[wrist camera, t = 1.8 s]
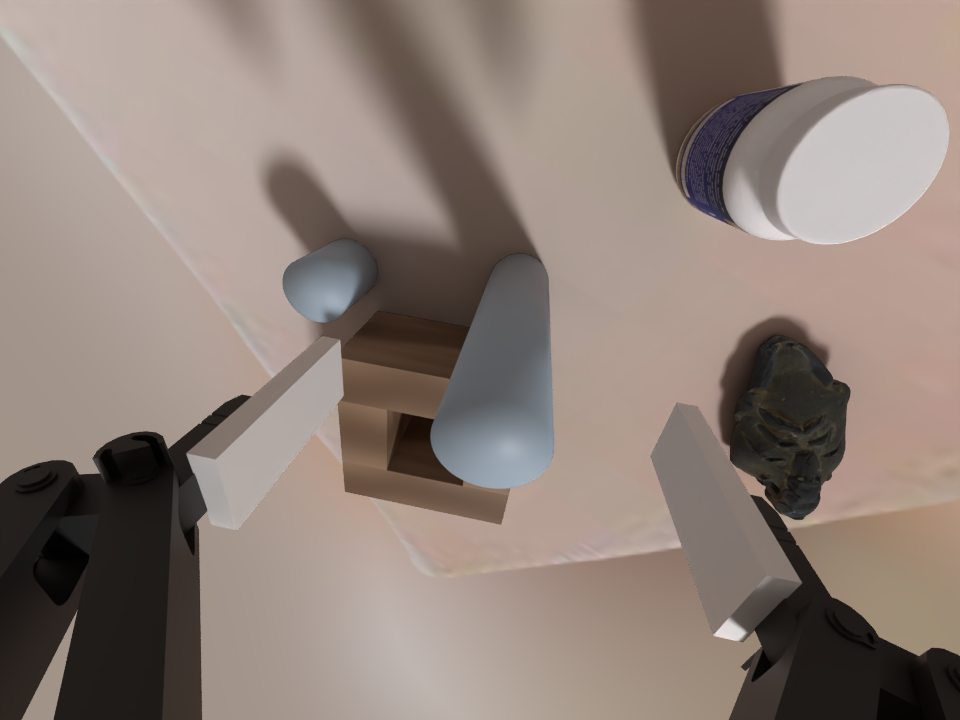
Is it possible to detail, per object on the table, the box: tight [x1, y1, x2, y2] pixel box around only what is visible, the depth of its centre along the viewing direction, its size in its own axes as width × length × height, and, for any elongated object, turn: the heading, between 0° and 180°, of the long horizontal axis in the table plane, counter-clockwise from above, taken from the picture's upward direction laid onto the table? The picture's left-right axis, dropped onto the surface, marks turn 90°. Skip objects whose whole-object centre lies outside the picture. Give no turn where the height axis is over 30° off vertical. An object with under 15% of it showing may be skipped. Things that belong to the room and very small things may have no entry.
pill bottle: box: [676, 76, 950, 244], centre depth 16 cm, size 6×6×10 cm
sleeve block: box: [338, 311, 510, 525], centre depth 28 cm, size 12×12×7 cm
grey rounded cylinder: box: [283, 239, 378, 322], centre depth 25 cm, size 4×4×5 cm
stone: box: [730, 335, 850, 520], centre depth 26 cm, size 7×13×5 cm, turn 17°
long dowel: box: [431, 254, 554, 489], centre depth 19 cm, size 4×4×16 cm
